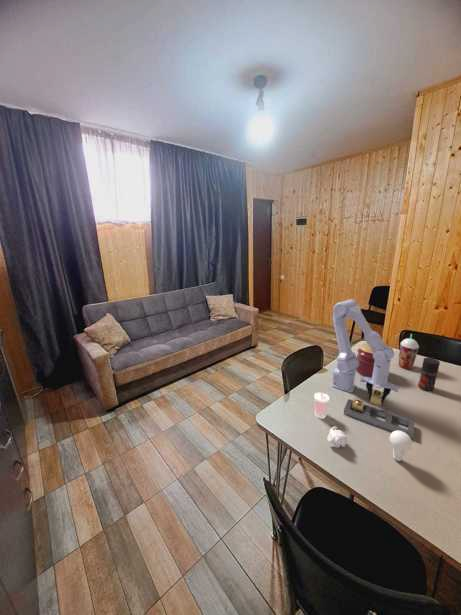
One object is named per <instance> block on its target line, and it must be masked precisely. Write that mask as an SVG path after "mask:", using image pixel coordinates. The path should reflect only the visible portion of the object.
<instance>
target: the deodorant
mask: <svg viewBox="0 0 461 615" xmlns="http://www.w3.org/2000/svg"><path fill="white" fill-rule="evenodd" d="M439 367H440V360H438V359H436V358H432V357H424V358H423V361H422V366H421V370H420V371H421V372H420V376H419V380H418V384H417V387H418V389H420V390H421V391H424V392H428V393H433V392H434V389H435V385H436V381H437V377H438V374H439V372H438V371H439Z"/></svg>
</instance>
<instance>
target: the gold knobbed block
mask: <svg viewBox="0 0 461 615" xmlns="http://www.w3.org/2000/svg"><path fill="white" fill-rule="evenodd" d="M365 403H366V402H364V401H362V400H359V399H356V398H354V399H353V403H352V407H351V410H354V411H356V412H359V413H362V414H364V411H363V409H364V404H365Z"/></svg>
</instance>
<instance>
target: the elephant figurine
mask: <svg viewBox="0 0 461 615" xmlns="http://www.w3.org/2000/svg"><path fill="white" fill-rule="evenodd" d="M337 428H338V427H337V426H336V425H335V426H332V427H331V428H329V433H328V436H327V437H326V440H327V444H330V445H332V444H335V448H338V449H339V448H340V447H341V448H345V447H346V445H347V443H348V438H347V437H349V436H350V435H349V434H348V435H346V434H345V433H344V431H342V430H340V429H337Z"/></svg>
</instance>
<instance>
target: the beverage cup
mask: <svg viewBox="0 0 461 615" xmlns="http://www.w3.org/2000/svg"><path fill="white" fill-rule="evenodd" d="M313 397H314V415H315V417H316V418H318V419H325V418H326V417H327V411H328V405H329V402H330V396H329V395H328V394H327V393H324V386H323V385H322V386H321V392H316V393H314V395H313Z"/></svg>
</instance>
